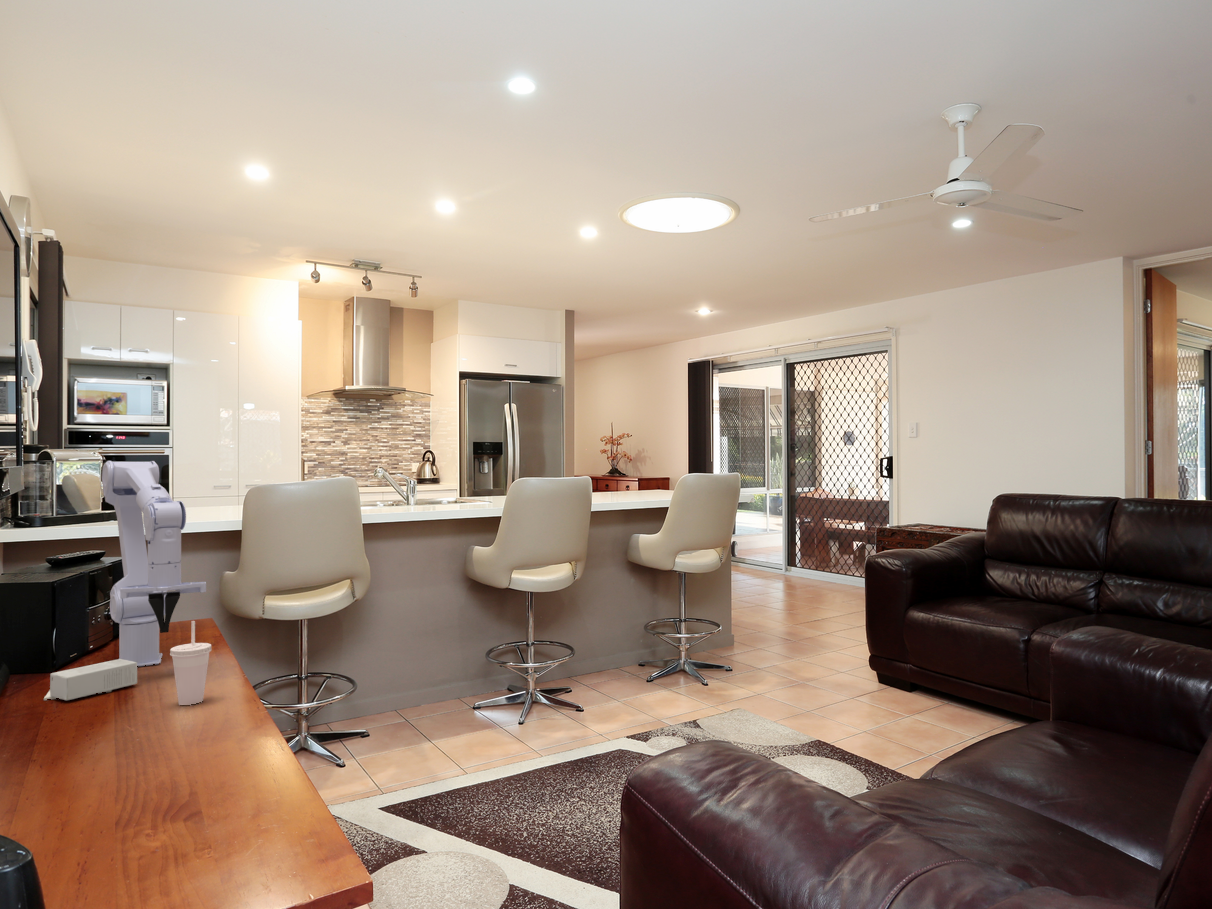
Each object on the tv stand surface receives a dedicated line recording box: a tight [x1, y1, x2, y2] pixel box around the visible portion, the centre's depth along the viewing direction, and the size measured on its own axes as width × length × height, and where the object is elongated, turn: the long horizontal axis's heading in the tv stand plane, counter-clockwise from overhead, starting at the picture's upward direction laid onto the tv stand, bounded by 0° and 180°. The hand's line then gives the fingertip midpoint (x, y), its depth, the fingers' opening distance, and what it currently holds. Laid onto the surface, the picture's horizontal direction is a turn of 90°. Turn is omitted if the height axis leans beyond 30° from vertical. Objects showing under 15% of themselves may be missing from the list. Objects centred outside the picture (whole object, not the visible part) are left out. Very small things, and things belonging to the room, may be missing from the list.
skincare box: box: [49, 658, 138, 702], centre depth 136 cm, size 6×4×12 cm
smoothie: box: [169, 620, 213, 706], centre depth 129 cm, size 6×6×14 cm
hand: (164, 631), depth 146 cm, fingers closed
